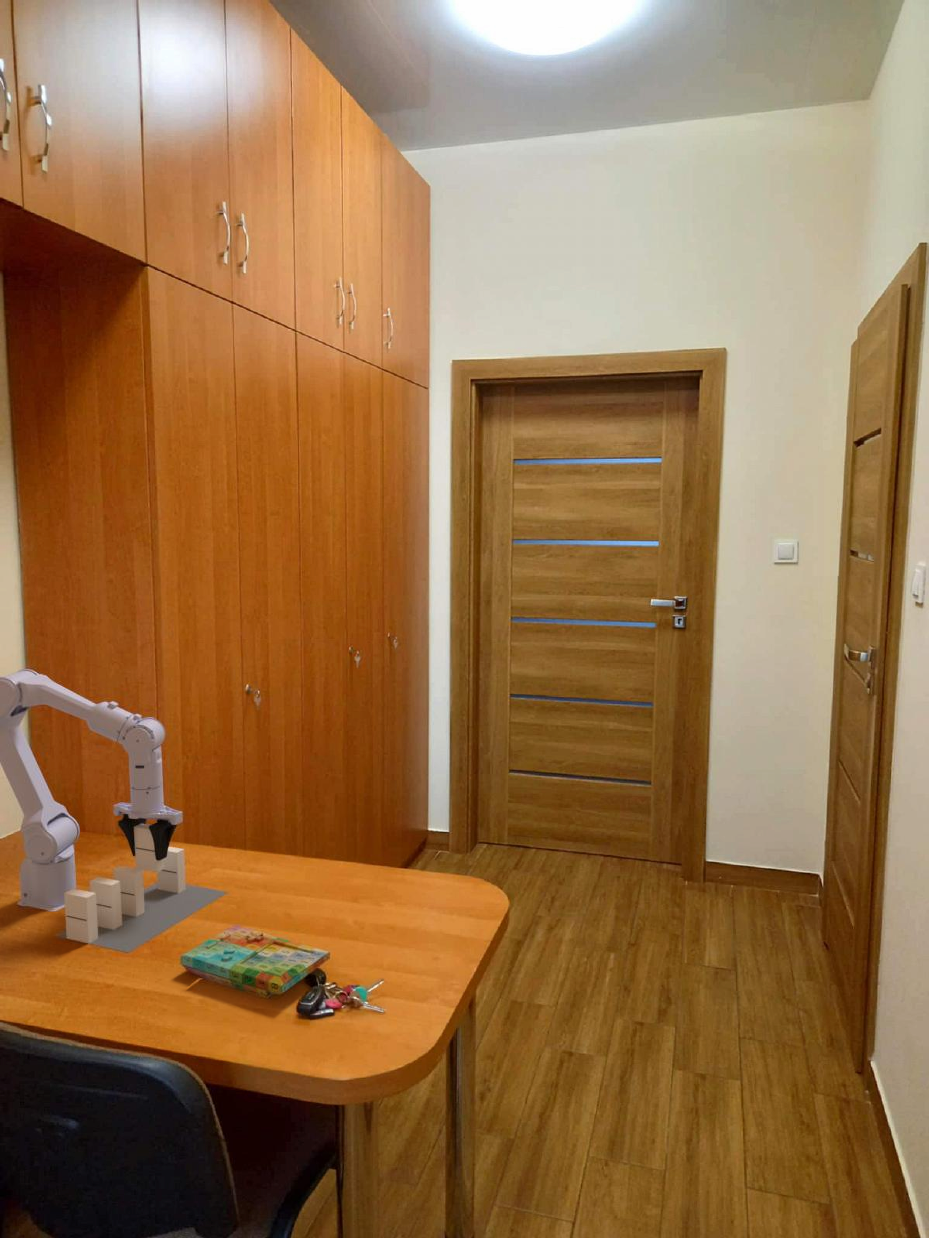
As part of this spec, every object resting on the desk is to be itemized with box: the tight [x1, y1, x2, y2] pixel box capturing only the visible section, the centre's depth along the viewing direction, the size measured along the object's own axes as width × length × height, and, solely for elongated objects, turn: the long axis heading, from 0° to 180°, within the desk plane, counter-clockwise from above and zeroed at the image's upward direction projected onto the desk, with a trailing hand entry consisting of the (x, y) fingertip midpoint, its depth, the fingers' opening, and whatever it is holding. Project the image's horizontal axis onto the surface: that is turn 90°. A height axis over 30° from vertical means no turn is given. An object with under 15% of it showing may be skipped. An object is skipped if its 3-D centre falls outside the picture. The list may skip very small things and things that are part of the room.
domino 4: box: [134, 824, 164, 873], centre depth 164 cm, size 2×5×8 cm, turn 67°
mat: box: [55, 881, 229, 954], centre depth 160 cm, size 16×26×1 cm, turn 157°
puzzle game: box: [180, 924, 331, 999], centre depth 139 cm, size 12×5×20 cm
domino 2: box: [89, 876, 122, 930], centre depth 155 cm, size 2×5×8 cm, turn 67°
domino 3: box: [112, 865, 145, 917], centre depth 160 cm, size 2×5×8 cm, turn 67°
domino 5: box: [156, 846, 186, 893], centre depth 170 cm, size 2×5×8 cm, turn 67°
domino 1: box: [64, 888, 98, 944], centre depth 150 cm, size 2×5×8 cm, turn 67°
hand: (149, 856), depth 164 cm, fingers closed on domino 4, 5 cm apart
